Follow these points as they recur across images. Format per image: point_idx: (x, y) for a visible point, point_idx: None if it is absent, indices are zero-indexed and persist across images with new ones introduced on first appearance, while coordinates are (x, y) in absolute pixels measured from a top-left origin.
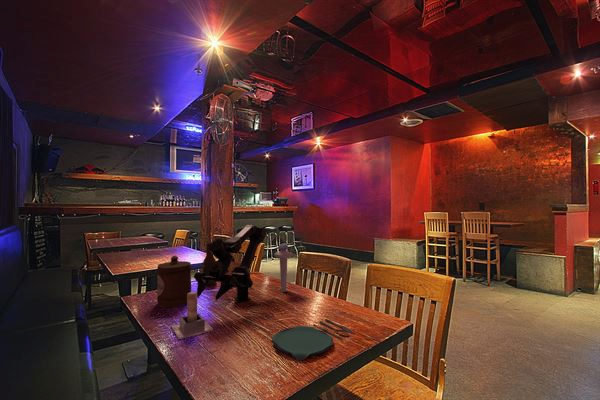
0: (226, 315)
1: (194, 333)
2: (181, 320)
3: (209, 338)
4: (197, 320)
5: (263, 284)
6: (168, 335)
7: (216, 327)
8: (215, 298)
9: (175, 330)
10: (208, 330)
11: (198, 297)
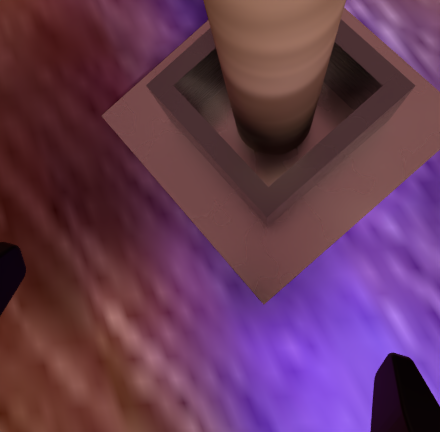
0: (102, 424)
1: (203, 28)
2: (355, 33)
3: (94, 24)
4: (201, 57)
5: None
6: (398, 10)
7: (105, 181)
8: (4, 244)
9: (375, 44)
10: (128, 93)
11: (374, 386)
